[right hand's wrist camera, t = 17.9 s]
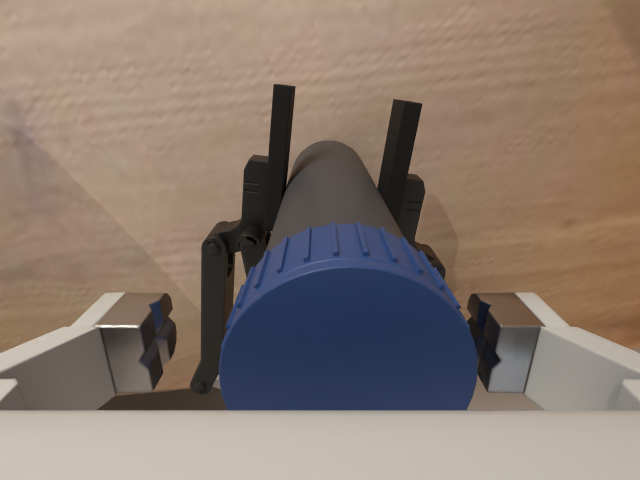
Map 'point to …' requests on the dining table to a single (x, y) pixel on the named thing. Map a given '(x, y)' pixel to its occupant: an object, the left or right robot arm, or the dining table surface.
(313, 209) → the gray bottle
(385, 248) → the lid
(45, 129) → the dining table surface
